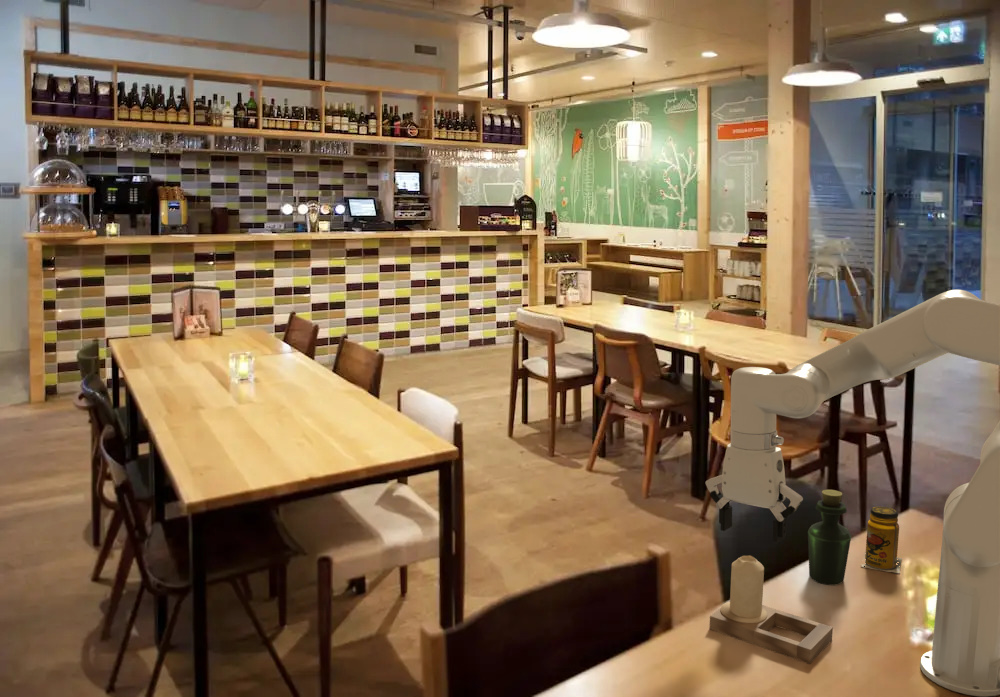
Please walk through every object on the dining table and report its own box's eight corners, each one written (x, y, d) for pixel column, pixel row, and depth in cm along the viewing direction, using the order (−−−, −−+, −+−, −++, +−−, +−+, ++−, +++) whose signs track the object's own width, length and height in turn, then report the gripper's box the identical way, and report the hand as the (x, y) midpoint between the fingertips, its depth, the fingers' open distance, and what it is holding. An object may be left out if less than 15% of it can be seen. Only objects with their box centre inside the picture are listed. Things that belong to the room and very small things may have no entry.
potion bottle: (846, 572, 176) (852, 488, 173) (850, 589, 168) (856, 501, 165) (804, 567, 178) (809, 484, 175) (806, 584, 171) (811, 497, 168)
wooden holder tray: (832, 640, 149) (833, 625, 148) (809, 663, 141) (810, 648, 141) (734, 609, 160) (735, 595, 160) (709, 629, 153) (710, 614, 152)
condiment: (860, 567, 179) (864, 512, 177) (864, 553, 186) (868, 500, 184) (899, 574, 175) (904, 518, 173) (901, 559, 183) (906, 505, 181)
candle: (763, 620, 150) (765, 566, 148) (730, 617, 151) (732, 563, 150) (760, 606, 155) (762, 553, 154) (728, 603, 157) (731, 551, 155)
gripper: (811, 442, 145) (809, 539, 148) (717, 428, 157) (716, 518, 159) (793, 452, 140) (791, 552, 142) (697, 437, 151) (696, 530, 154)
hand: (751, 534), depth 151 cm, fingers open, 9 cm apart
